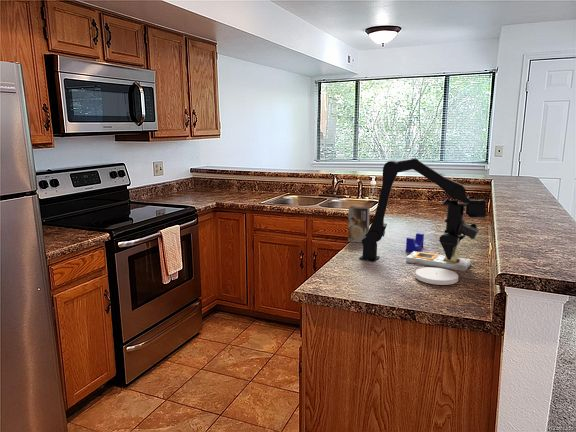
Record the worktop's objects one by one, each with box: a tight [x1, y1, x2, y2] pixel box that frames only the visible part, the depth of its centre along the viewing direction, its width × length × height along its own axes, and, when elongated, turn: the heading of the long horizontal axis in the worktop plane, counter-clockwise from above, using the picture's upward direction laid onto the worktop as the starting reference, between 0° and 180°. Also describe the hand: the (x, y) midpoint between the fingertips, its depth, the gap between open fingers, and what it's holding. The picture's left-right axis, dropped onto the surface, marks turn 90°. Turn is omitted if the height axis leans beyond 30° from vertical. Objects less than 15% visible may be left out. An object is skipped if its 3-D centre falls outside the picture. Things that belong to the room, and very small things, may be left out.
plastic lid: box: [414, 266, 459, 286], centre depth 149 cm, size 14×14×2 cm
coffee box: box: [347, 205, 370, 243], centre depth 201 cm, size 9×6×16 cm
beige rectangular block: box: [444, 241, 461, 263], centre depth 164 cm, size 4×4×9 cm
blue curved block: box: [405, 232, 425, 253], centre depth 187 cm, size 12×4×6 cm, turn 142°
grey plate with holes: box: [405, 251, 472, 272], centre depth 168 cm, size 10×22×2 cm, turn 58°
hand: (451, 256), depth 165 cm, fingers open, 9 cm apart
